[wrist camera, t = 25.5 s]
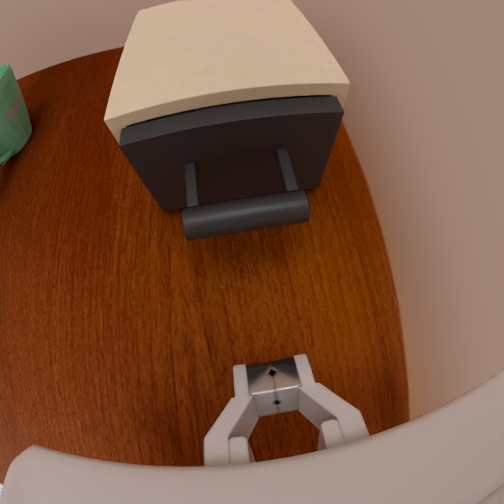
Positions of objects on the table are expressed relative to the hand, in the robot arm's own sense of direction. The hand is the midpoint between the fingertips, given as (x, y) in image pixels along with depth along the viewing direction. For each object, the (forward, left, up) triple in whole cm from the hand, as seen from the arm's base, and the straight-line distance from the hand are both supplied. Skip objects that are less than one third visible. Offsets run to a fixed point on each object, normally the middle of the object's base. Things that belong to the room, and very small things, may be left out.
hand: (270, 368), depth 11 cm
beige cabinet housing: (+19, 0, -7) cm, 20 cm away
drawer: (+15, 0, -6) cm, 16 cm away
